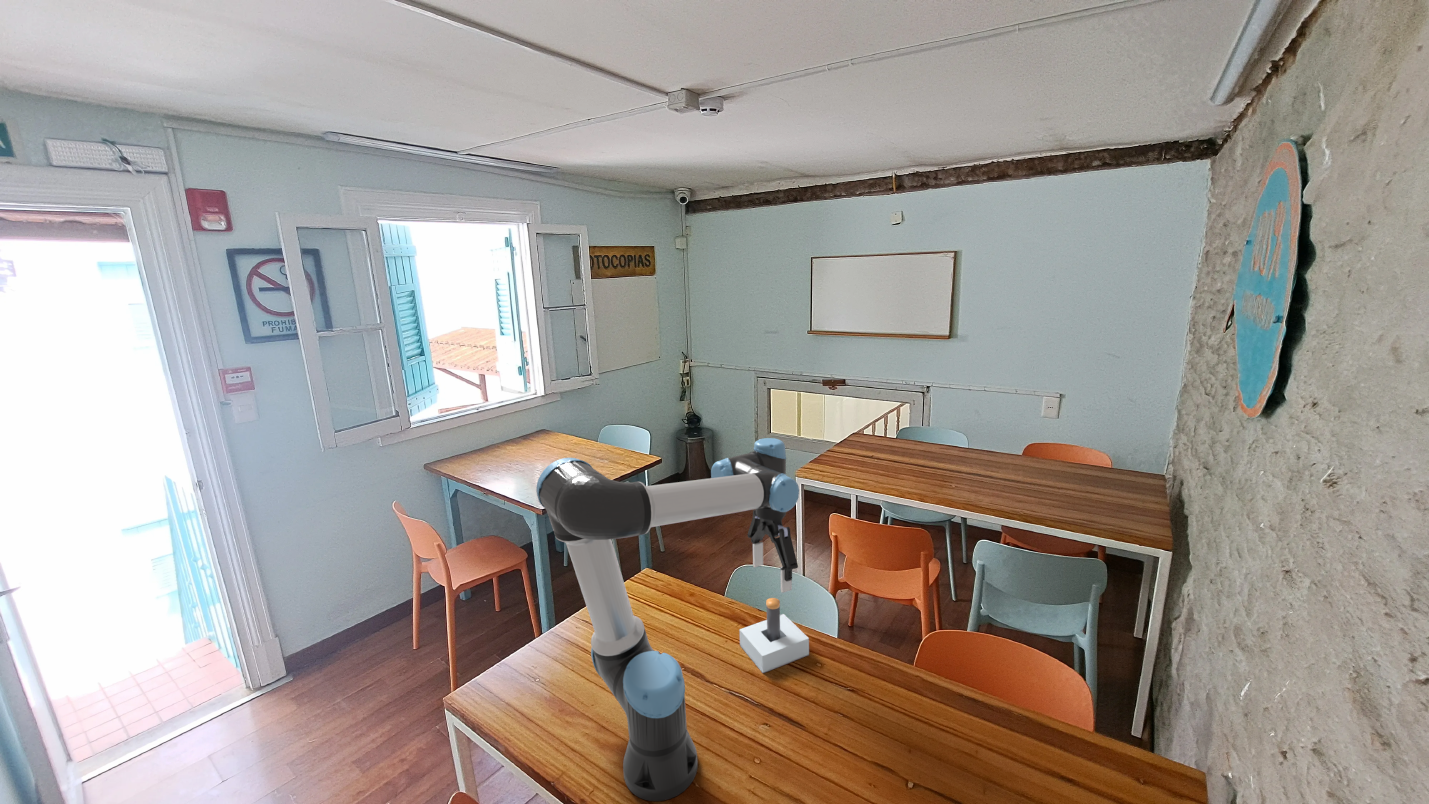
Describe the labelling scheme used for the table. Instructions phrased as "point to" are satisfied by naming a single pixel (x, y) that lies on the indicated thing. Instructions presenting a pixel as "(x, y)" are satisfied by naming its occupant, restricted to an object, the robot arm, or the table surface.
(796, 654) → the socket block
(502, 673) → the table surface
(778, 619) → the marker
